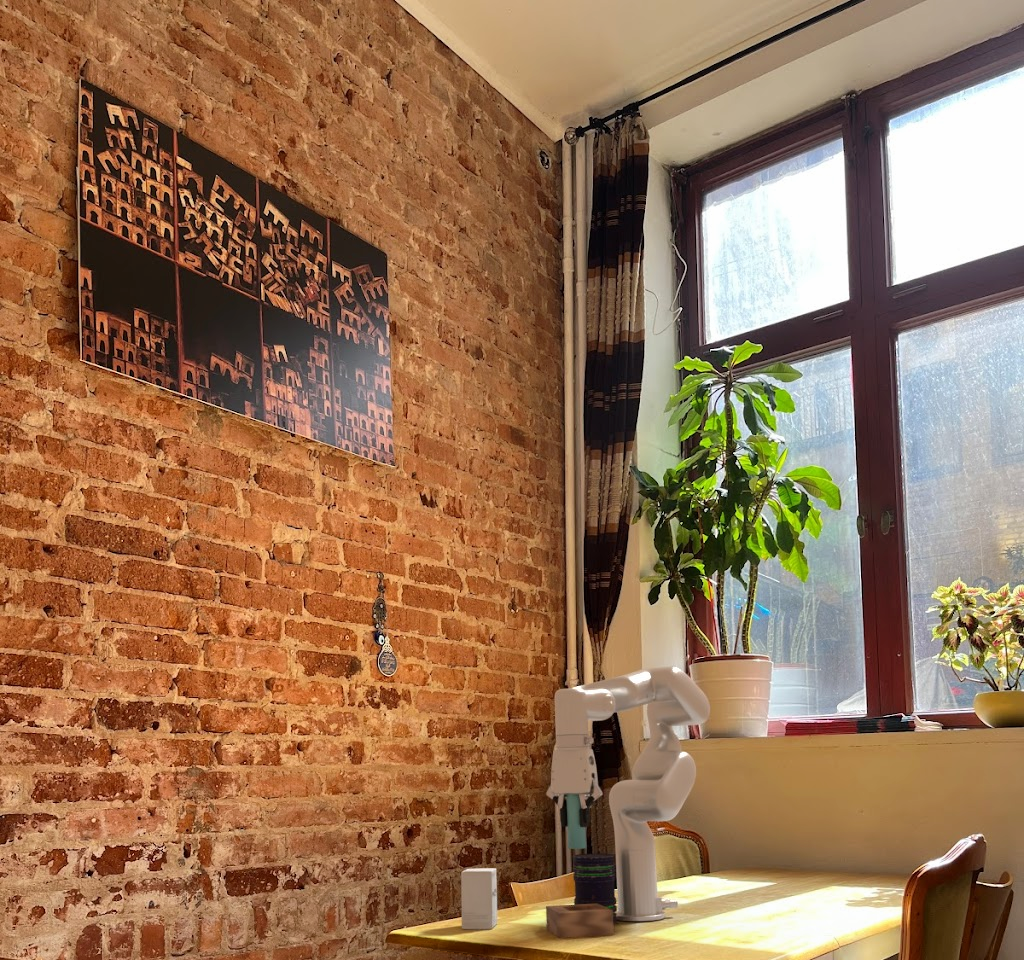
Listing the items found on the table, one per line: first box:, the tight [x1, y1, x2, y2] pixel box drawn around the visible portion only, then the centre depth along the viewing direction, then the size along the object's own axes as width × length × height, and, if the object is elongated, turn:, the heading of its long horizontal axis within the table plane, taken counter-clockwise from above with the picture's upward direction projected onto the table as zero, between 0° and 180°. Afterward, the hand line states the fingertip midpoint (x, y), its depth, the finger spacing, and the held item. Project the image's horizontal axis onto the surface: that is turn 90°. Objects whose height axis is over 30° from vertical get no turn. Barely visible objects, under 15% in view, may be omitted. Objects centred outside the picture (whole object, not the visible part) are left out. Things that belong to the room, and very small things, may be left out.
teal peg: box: [566, 794, 587, 850], centre depth 255 cm, size 4×4×14 cm
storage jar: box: [572, 853, 618, 926], centre depth 263 cm, size 10×10×15 cm
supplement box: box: [460, 867, 498, 930], centre depth 261 cm, size 7×7×13 cm
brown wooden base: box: [545, 903, 615, 939], centre depth 250 cm, size 12×12×5 cm
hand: (575, 825), depth 254 cm, fingers closed on teal peg, 4 cm apart
